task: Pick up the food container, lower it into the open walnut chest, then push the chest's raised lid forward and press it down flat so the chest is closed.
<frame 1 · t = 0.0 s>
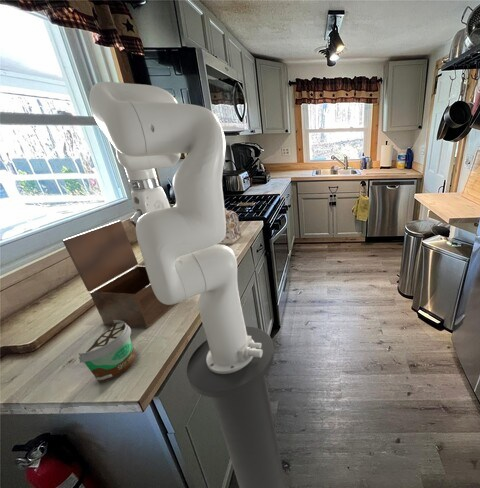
hand: (160, 235, 88), 23 cm above the counter, tool pointing down, fingers open, 9 cm apart
chest: (147, 308, 88), on the counter
lid: (105, 253, 81), point 20 cm above the counter, hinge at 92.0°
food container: (125, 365, 66), on the counter
decorative jar: (227, 240, 145), on the counter
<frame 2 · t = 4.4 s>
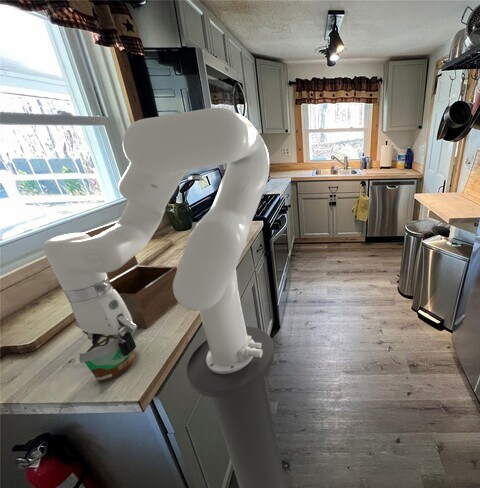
hand: (117, 349, 64), 5 cm above the counter, tool pointing down, fingers closed on food container, 6 cm apart
food container: (125, 365, 66), on the counter, touching gripper
everything else where it was.
when the fingers open (6 cm above the counter, at t = 13.6 s): food container stays where it is, resting on chest.
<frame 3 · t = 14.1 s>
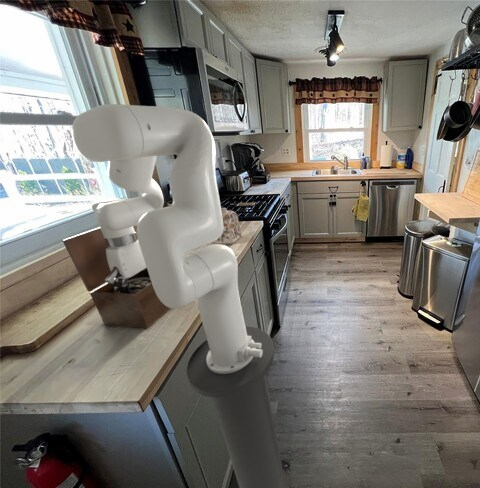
hand: (140, 288, 85), 8 cm above the counter, tool pointing down, fingers open, 9 cm apart
food container: (148, 307, 88), point 1 cm above the counter, touching chest
everything else where it was.
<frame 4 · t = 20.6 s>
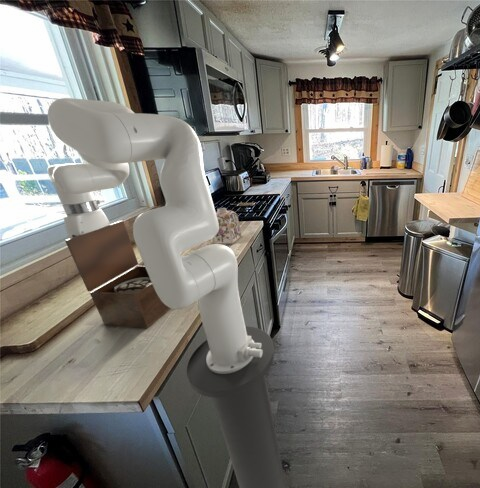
hand: (105, 263, 83), 17 cm above the counter, tool pointing down, fingers closed
lid: (106, 253, 81), point 20 cm above the counter, hinge at 88.8°, touching gripper
everything else where it was.
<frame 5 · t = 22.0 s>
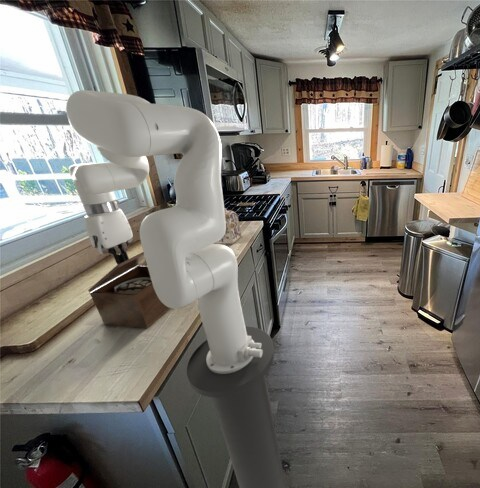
hand: (124, 264, 82), 17 cm above the counter, tool pointing down, fingers closed
lid: (128, 265, 82), point 17 cm above the counter, hinge at 33.0°, touching gripper
everything else where it was.
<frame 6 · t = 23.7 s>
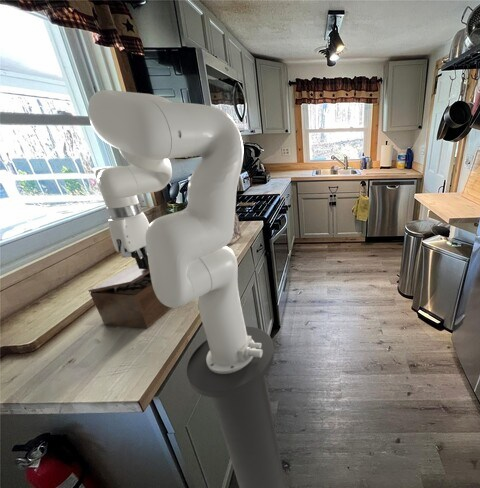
hand: (145, 267, 81), 16 cm above the counter, tool pointing down, fingers closed
lid: (134, 272, 82), point 14 cm above the counter, hinge at 13.5°, touching gripper
everything else where it was.
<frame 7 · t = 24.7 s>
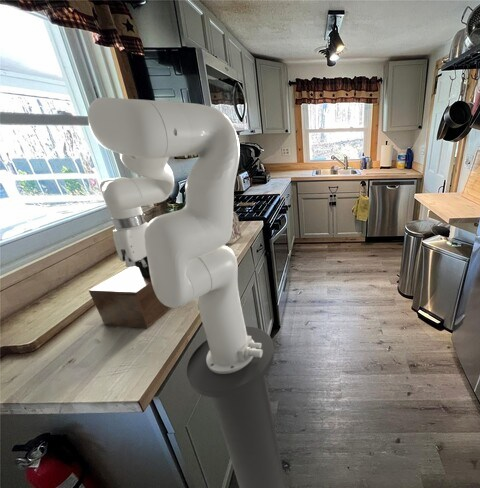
hand: (148, 276, 82), 13 cm above the counter, tool pointing down, fingers closed
lid: (137, 277, 83), point 12 cm above the counter, hinge at 1.1°, touching gripper
everything else where it was.
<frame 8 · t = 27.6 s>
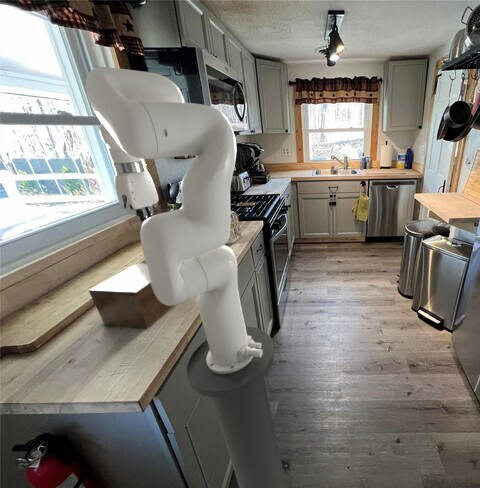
hand: (150, 228, 82), 27 cm above the counter, tool pointing down, fingers closed
lid: (137, 277, 83), point 12 cm above the counter, hinge at 1.1°
everything else where it was.
at the end: food container inside the target area in the chest (0.2 cm from its centre), point 0.6 cm above the chest's base; lid at +1° (first picture: +92°); food container tilted 0° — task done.
